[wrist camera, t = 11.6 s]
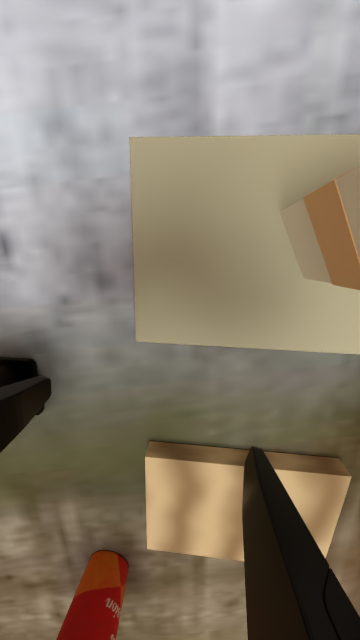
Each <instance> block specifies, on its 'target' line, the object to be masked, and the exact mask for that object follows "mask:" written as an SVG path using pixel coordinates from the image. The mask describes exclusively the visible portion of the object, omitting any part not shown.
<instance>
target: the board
mask: <svg viewBox="0 0 360 640" xmlns="http://www.w3.org/2000/svg"><path fill="white" fill-rule="evenodd" d="M248 453H249V450H243V449H232V448H220V447H209V446H198V445H187V444H176V443H165V442H154V441H149V445H148V448H147V452H146V456H145V472H146V516H147V549H152V550H160V551H168V552H176V553H184V554H191V555H199V556H207V557H215V558H223V559H231V560H239V561H244V546H243V526H242V499H243V479H244V464H245V460H246V457H247V455H248ZM264 453H265V454H266V456H267V458H268V460H269V461H270V463H271V465H272V466H273V468H274V470H275V472H276V473H277V475H278V477H279V479H280V480H281V482H282V484H283V486H284V487H285V489H286V491H287V493H288V494H289V496H290V498H291V500H292V501H293V503H294V505H295V507H296V508H297V510H298V512H299V514H300V515H301V517H302V519H303V521H304V522H305V524H306V526H307V527H308V529H309V531H310V533H311V534H312V536H313V538H314V540H315V541H316V543H317V545H318V547H319V548H320V550H321V552H322V554H323V555H324V557H325V558H326V555H327V552H328V549H329V546H330V543H331V539H332V536H333V533H334V530H335V527H336V524H337V521H338V518H339V514H340V511H341V508H342V505H343V502H344V499H345V496H346V493H347V489H348V486H349V483H350V480H351V475H350V474H349V472H348V471H347V469H346V468H345V467H344V465H343V464H342V462H341V461H340V459H339V458H331V457H320V456H309V455H298V454H287V453H276V452H265V451H264Z"/></svg>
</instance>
